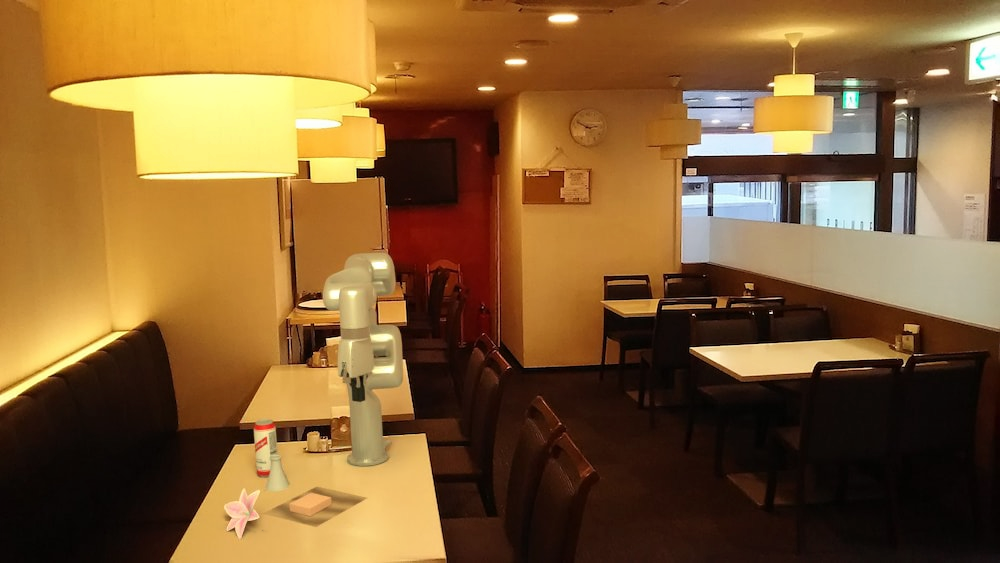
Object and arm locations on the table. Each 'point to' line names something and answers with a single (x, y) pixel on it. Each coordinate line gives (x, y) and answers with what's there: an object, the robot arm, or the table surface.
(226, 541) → the table surface
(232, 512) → the lily
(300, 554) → the table surface
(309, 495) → the tile
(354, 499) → the board
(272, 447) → the beer can
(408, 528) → the table surface
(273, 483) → the flask
